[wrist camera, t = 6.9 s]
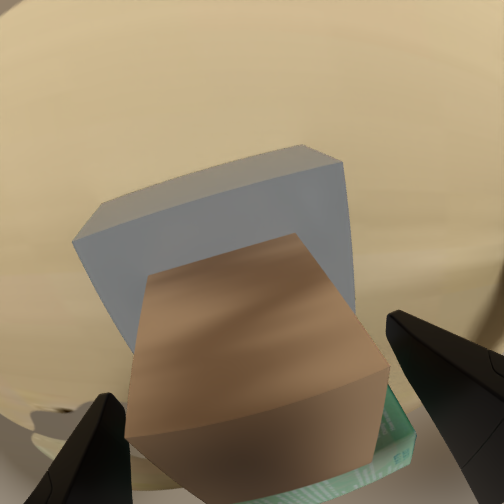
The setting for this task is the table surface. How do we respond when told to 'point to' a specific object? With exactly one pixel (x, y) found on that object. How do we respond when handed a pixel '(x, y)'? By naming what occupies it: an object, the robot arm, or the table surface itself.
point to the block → (253, 375)
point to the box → (383, 463)
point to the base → (217, 224)
